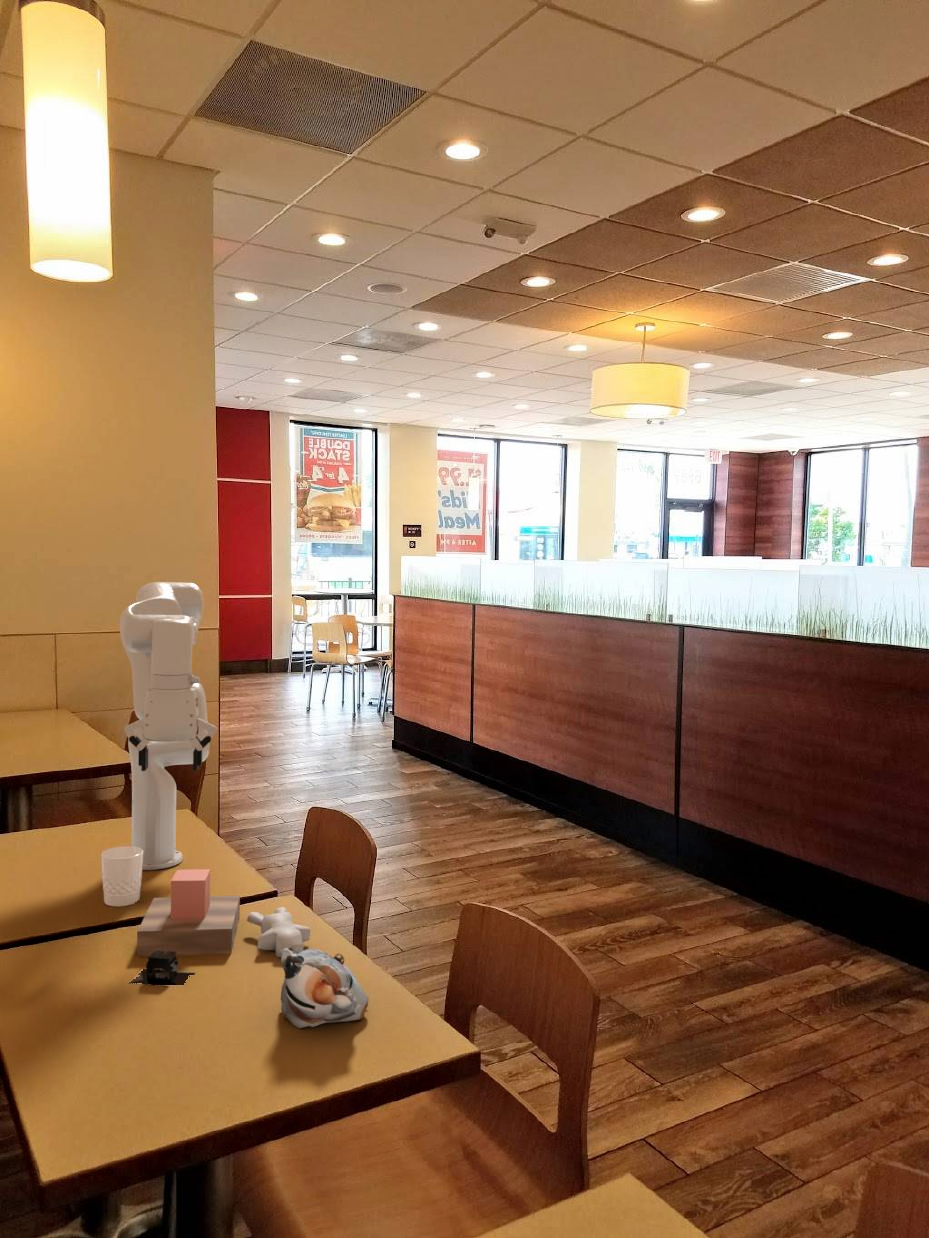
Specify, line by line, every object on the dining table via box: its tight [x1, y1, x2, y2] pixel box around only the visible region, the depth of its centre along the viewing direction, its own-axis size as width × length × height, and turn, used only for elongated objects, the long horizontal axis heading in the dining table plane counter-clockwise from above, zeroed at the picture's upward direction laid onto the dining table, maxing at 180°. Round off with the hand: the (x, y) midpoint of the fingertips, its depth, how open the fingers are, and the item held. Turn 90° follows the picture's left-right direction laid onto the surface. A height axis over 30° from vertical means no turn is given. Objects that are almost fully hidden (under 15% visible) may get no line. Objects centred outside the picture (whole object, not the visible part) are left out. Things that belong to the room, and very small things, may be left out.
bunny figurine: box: [246, 906, 311, 958], centre depth 168 cm, size 10×5×15 cm
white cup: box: [100, 845, 143, 908], centre depth 186 cm, size 8×8×10 cm
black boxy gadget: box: [128, 950, 197, 986], centre depth 153 cm, size 12×7×5 cm, turn 84°
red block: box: [170, 868, 211, 919], centre depth 170 cm, size 6×6×7 cm
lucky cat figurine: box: [280, 947, 370, 1030], centre depth 140 cm, size 15×12×14 cm
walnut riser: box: [136, 895, 241, 957], centre depth 170 cm, size 16×16×5 cm
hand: (170, 769), depth 180 cm, fingers open, 9 cm apart
